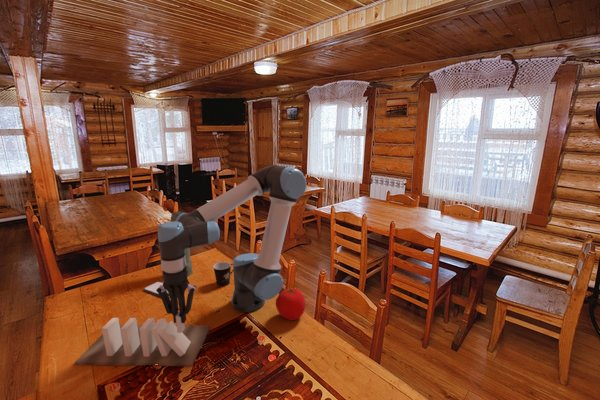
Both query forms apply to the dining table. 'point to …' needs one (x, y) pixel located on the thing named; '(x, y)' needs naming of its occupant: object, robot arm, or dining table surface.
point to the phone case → (154, 288)
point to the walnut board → (99, 356)
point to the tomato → (290, 304)
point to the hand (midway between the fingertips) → (181, 330)
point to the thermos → (187, 251)
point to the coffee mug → (222, 273)
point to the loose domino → (175, 338)
